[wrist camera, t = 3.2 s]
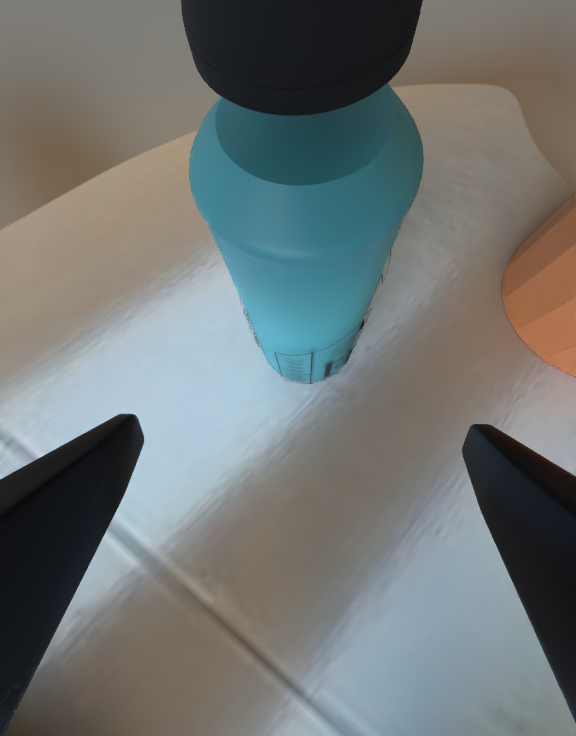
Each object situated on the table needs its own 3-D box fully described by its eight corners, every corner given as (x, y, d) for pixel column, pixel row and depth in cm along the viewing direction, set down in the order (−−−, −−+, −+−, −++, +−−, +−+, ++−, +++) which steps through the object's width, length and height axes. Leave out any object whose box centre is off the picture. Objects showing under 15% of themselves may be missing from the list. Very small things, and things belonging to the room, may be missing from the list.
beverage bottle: (322, 407, 22) (454, 68, 2) (245, 361, 23) (-74, -105, 4) (365, 332, 23) (675, -277, 4) (290, 292, 24) (228, -323, 5)
